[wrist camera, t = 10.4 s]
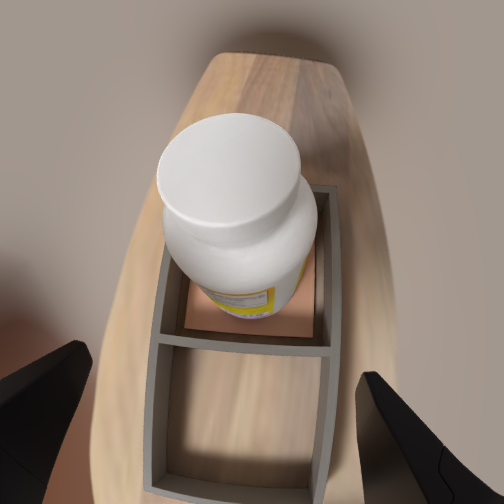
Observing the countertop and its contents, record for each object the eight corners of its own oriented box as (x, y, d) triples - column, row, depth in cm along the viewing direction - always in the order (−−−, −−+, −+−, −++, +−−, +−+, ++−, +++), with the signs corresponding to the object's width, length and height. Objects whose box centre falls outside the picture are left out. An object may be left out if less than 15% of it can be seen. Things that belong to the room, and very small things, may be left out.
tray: (314, 493, 15) (325, 526, 10) (158, 476, 16) (131, 501, 11) (329, 198, 23) (341, 160, 18) (190, 193, 24) (173, 157, 19)
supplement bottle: (261, 216, 22) (252, 76, 10) (316, 283, 20) (377, 177, 8) (189, 266, 21) (105, 156, 9) (240, 340, 19) (190, 309, 7)
